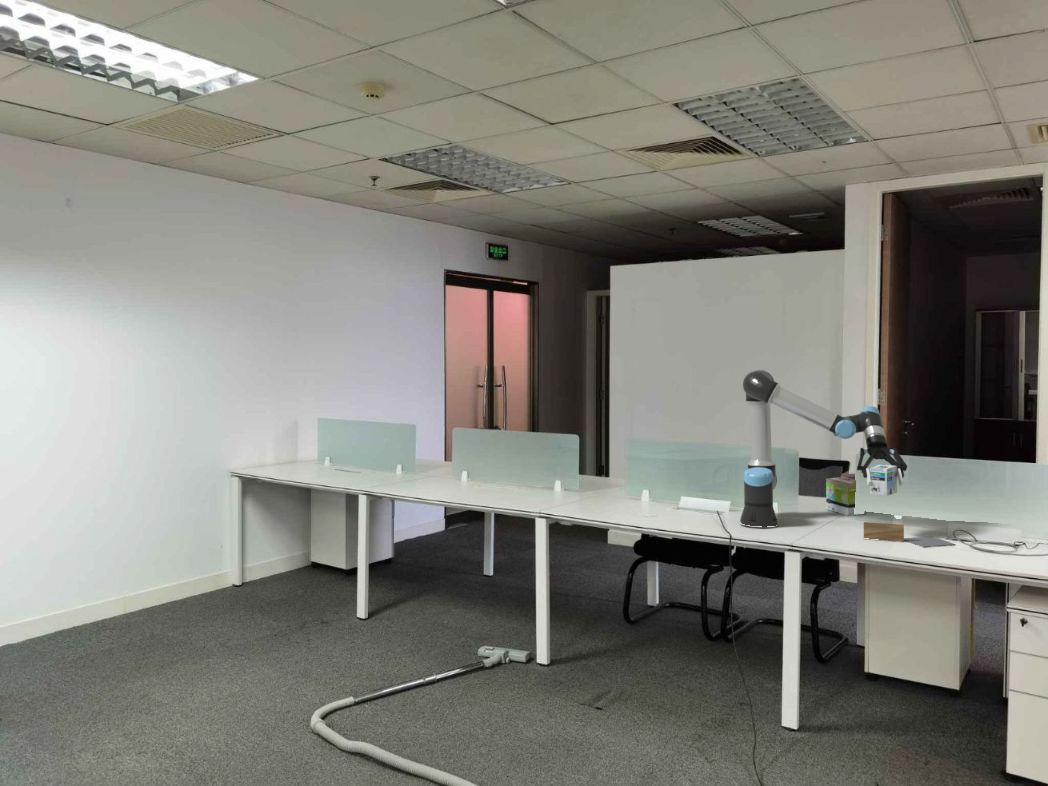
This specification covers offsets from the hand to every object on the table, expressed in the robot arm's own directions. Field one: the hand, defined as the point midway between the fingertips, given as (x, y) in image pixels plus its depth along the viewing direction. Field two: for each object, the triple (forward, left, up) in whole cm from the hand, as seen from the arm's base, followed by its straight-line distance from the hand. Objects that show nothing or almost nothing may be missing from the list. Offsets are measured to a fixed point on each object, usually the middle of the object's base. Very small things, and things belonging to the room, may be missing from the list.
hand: (885, 484), depth 310 cm
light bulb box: (+1, +3, -4) cm, 5 cm away
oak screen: (-4, -5, -21) cm, 22 cm away
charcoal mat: (+9, -12, -21) cm, 26 cm away
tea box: (+11, +46, -21) cm, 52 cm away
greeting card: (+21, +61, -21) cm, 68 cm away
